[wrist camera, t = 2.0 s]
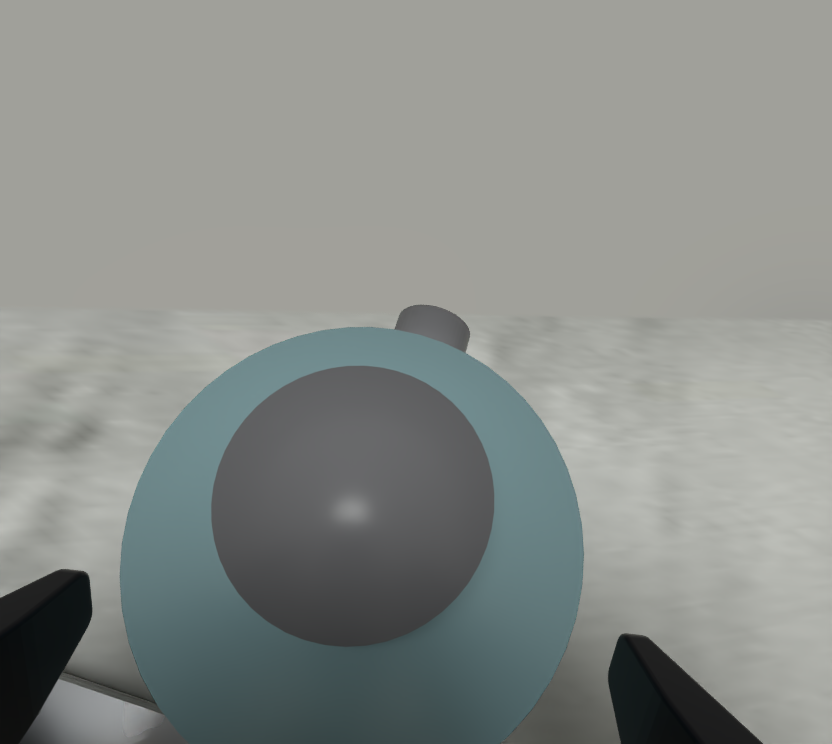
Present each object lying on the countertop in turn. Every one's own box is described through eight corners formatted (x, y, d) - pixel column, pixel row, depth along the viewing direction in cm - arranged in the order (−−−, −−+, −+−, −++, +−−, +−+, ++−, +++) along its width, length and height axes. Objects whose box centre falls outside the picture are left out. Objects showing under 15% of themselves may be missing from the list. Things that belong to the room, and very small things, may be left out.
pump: (460, 778, 15) (734, 1229, 3) (200, 692, 16) (-307, 833, 4) (515, 488, 19) (727, 252, 8) (308, 428, 20) (210, 122, 8)
